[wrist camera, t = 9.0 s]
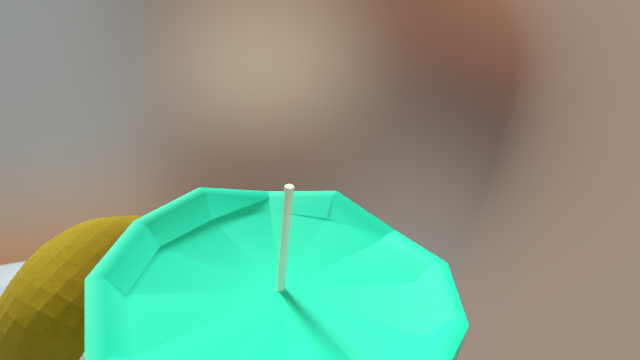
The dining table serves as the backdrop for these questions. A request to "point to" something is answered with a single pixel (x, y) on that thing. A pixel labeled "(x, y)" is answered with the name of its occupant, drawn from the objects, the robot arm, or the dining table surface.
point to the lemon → (55, 293)
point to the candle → (269, 284)
